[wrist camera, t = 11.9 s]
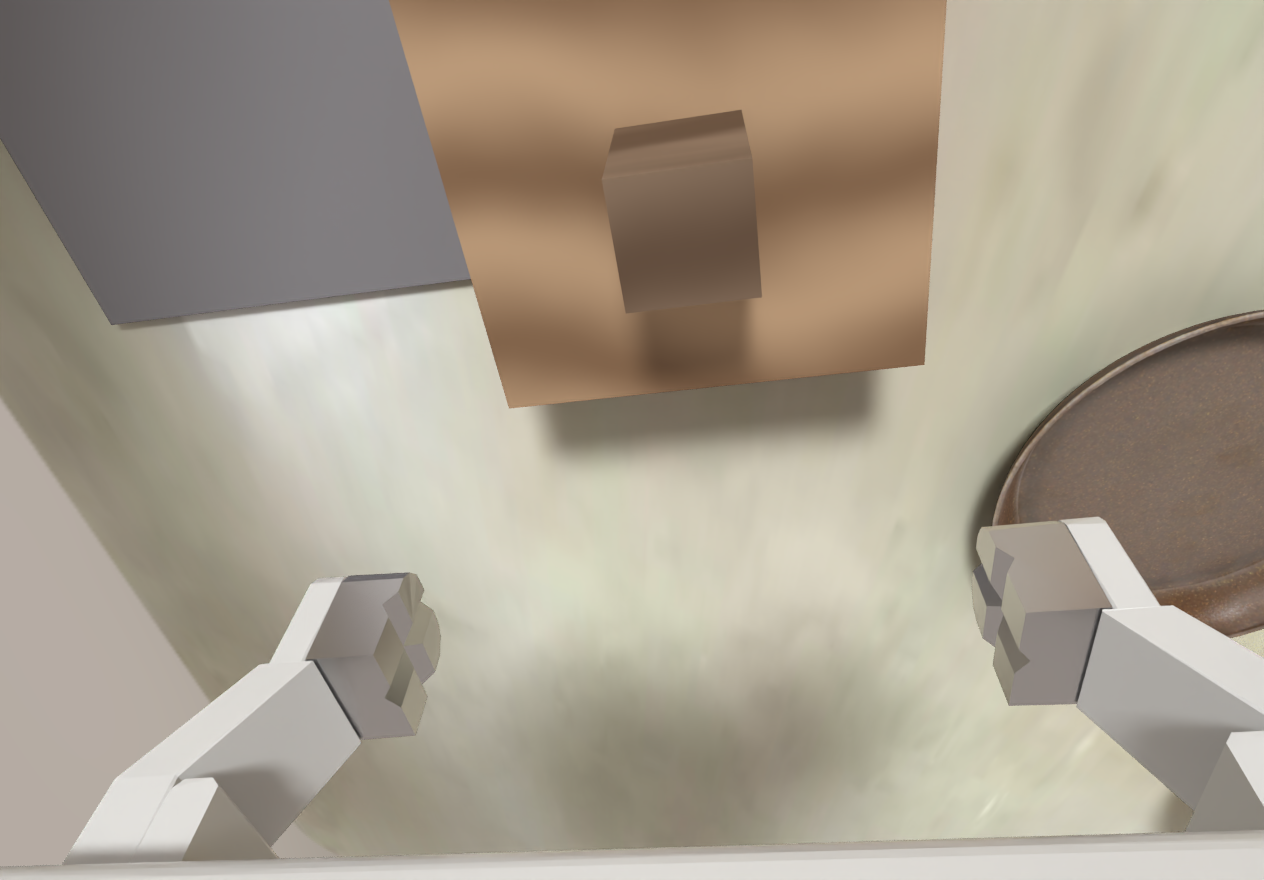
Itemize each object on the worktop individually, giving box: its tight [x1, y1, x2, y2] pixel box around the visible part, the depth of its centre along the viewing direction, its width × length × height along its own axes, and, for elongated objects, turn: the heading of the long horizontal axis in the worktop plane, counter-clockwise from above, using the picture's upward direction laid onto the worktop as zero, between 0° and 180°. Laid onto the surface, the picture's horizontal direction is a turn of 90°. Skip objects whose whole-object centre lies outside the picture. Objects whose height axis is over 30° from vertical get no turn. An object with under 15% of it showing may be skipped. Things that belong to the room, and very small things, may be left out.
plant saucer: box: [992, 310, 1264, 638], centre depth 39 cm, size 21×21×3 cm
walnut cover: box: [389, 0, 947, 408], centre depth 25 cm, size 16×16×6 cm
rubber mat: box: [0, 0, 471, 325], centre depth 32 cm, size 18×18×1 cm
